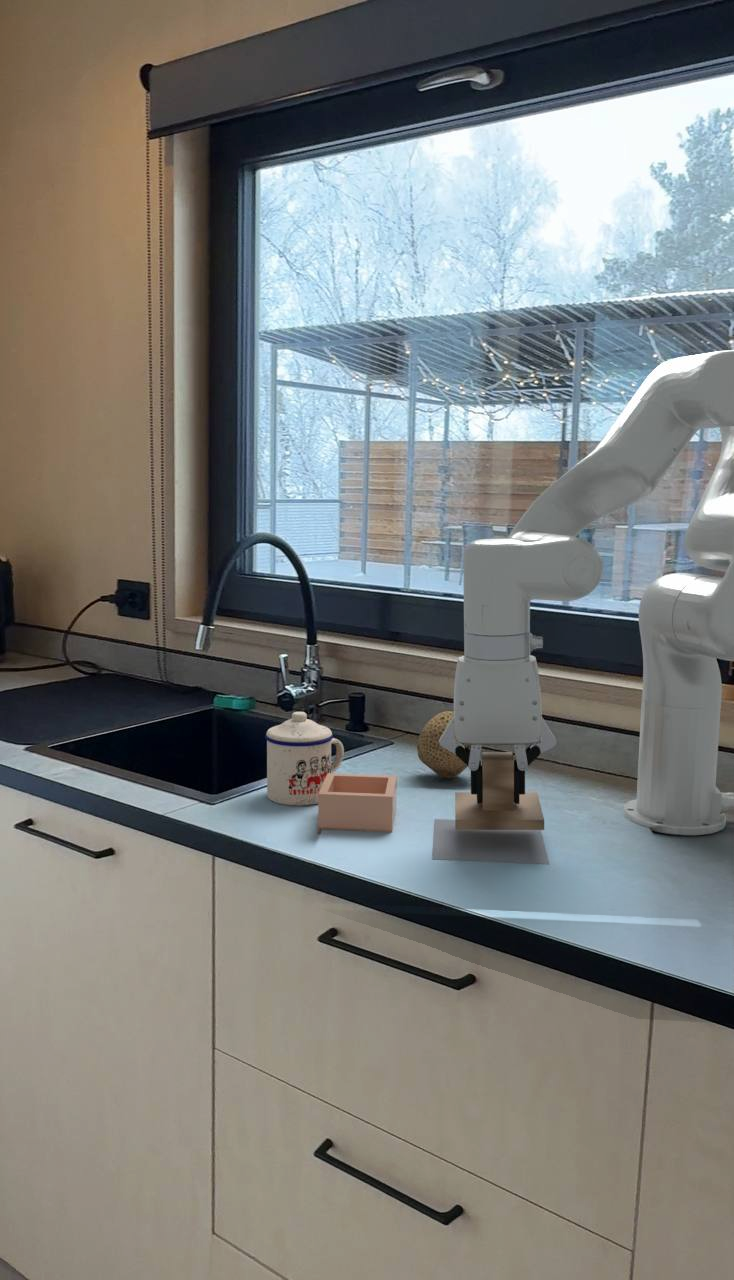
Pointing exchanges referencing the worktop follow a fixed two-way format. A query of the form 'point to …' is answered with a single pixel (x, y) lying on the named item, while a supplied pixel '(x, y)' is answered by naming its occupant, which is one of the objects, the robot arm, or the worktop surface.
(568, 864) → the worktop surface
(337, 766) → the teacup with lid
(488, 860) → the mat
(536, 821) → the lid
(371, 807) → the dish
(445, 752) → the natural sponge
